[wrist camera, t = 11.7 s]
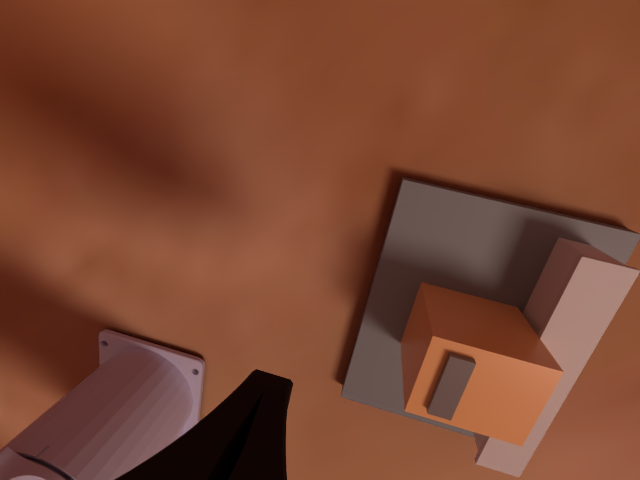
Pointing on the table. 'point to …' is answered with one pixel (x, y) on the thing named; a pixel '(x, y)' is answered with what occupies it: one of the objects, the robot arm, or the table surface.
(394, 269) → the board
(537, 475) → the table surface
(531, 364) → the block
